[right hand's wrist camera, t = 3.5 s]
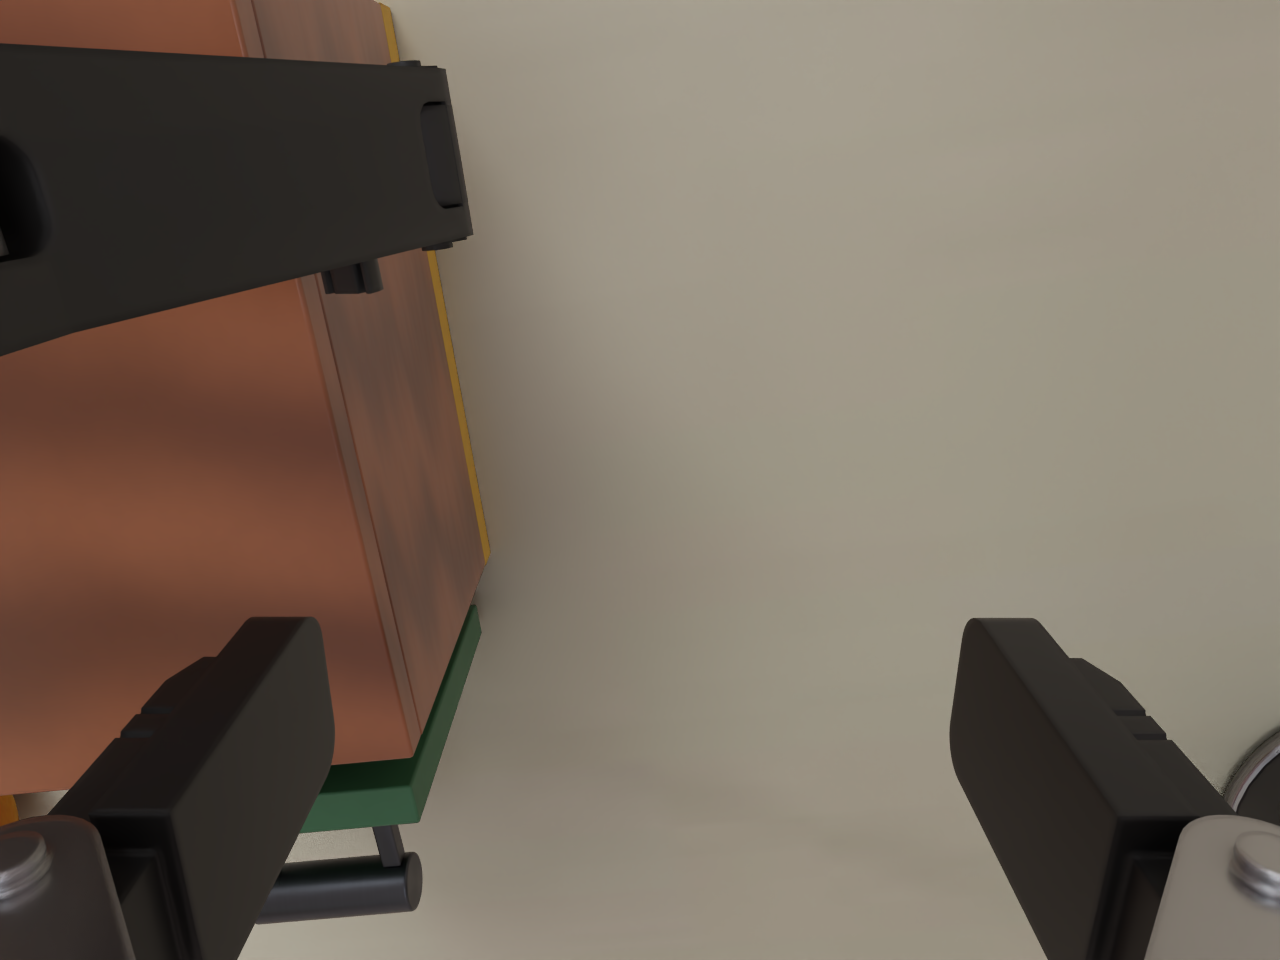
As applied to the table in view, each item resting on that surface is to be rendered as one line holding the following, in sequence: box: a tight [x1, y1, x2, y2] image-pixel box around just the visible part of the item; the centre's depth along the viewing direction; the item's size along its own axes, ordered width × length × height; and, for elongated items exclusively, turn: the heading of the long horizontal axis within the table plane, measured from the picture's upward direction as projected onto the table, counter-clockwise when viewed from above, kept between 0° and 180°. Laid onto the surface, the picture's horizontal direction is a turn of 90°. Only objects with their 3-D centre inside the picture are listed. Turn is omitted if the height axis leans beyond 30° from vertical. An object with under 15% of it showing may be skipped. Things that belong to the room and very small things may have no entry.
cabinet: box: [0, 0, 490, 796], centre depth 24 cm, size 18×10×12 cm, turn 6°
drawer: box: [255, 605, 481, 924], centre depth 27 cm, size 23×9×10 cm, turn 6°
